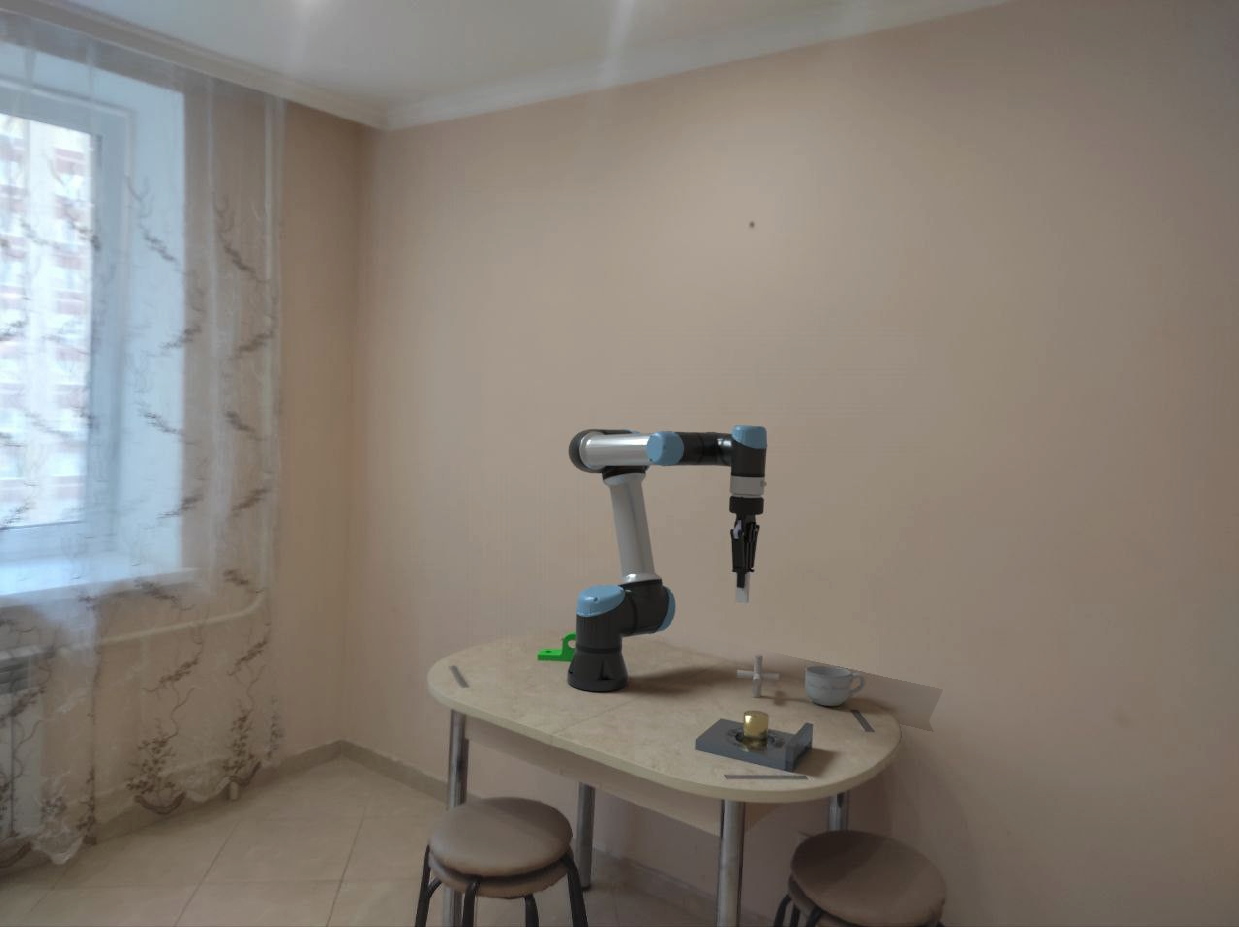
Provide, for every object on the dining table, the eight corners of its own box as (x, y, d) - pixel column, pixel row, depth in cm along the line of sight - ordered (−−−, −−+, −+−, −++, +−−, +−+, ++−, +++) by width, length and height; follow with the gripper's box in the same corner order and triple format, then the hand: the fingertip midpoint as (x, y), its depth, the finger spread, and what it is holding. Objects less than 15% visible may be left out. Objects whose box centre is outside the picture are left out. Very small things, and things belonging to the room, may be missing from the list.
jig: (695, 748, 167) (696, 724, 167) (720, 727, 180) (721, 704, 179) (792, 772, 158) (793, 746, 158) (812, 747, 170) (813, 723, 170)
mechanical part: (583, 657, 228) (584, 628, 228) (582, 663, 222) (583, 634, 222) (540, 655, 228) (540, 626, 228) (537, 661, 222) (538, 632, 222)
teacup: (800, 705, 195) (802, 672, 195) (806, 692, 205) (808, 660, 205) (862, 715, 190) (863, 680, 190) (865, 700, 201) (866, 668, 200)
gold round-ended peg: (738, 749, 168) (740, 715, 167) (746, 741, 172) (748, 708, 172) (762, 755, 165) (764, 721, 165) (770, 747, 170) (771, 713, 169)
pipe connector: (777, 705, 195) (779, 663, 194) (734, 700, 197) (736, 659, 196) (778, 691, 205) (779, 651, 204) (737, 687, 207) (739, 648, 206)
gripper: (753, 499, 175) (748, 609, 176) (772, 495, 186) (767, 598, 188) (719, 496, 178) (715, 604, 180) (740, 492, 190) (736, 594, 191)
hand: (741, 601), depth 184 cm, fingers closed
